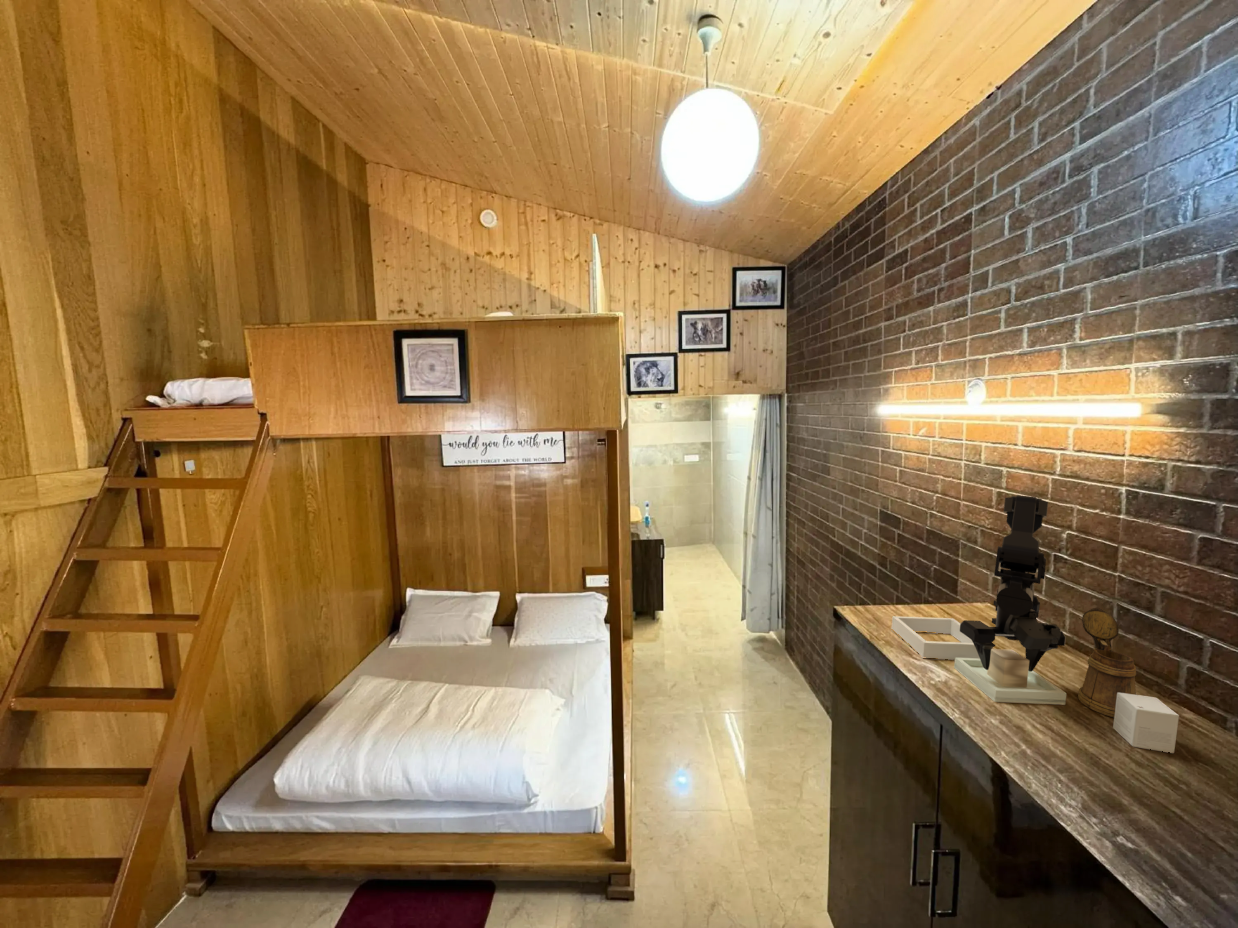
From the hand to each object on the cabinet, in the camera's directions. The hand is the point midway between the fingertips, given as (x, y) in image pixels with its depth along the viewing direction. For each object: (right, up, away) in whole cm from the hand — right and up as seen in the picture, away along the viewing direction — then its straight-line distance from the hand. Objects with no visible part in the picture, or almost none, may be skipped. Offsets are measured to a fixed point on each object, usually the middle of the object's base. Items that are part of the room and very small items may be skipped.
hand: (1007, 669), depth 112 cm
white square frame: (-3, -1, +19) cm, 20 cm away
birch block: (0, -3, 0) cm, 2 cm away
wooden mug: (+16, -5, -5) cm, 17 cm away
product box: (+11, -6, -18) cm, 22 cm away
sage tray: (0, -4, 0) cm, 4 cm away
